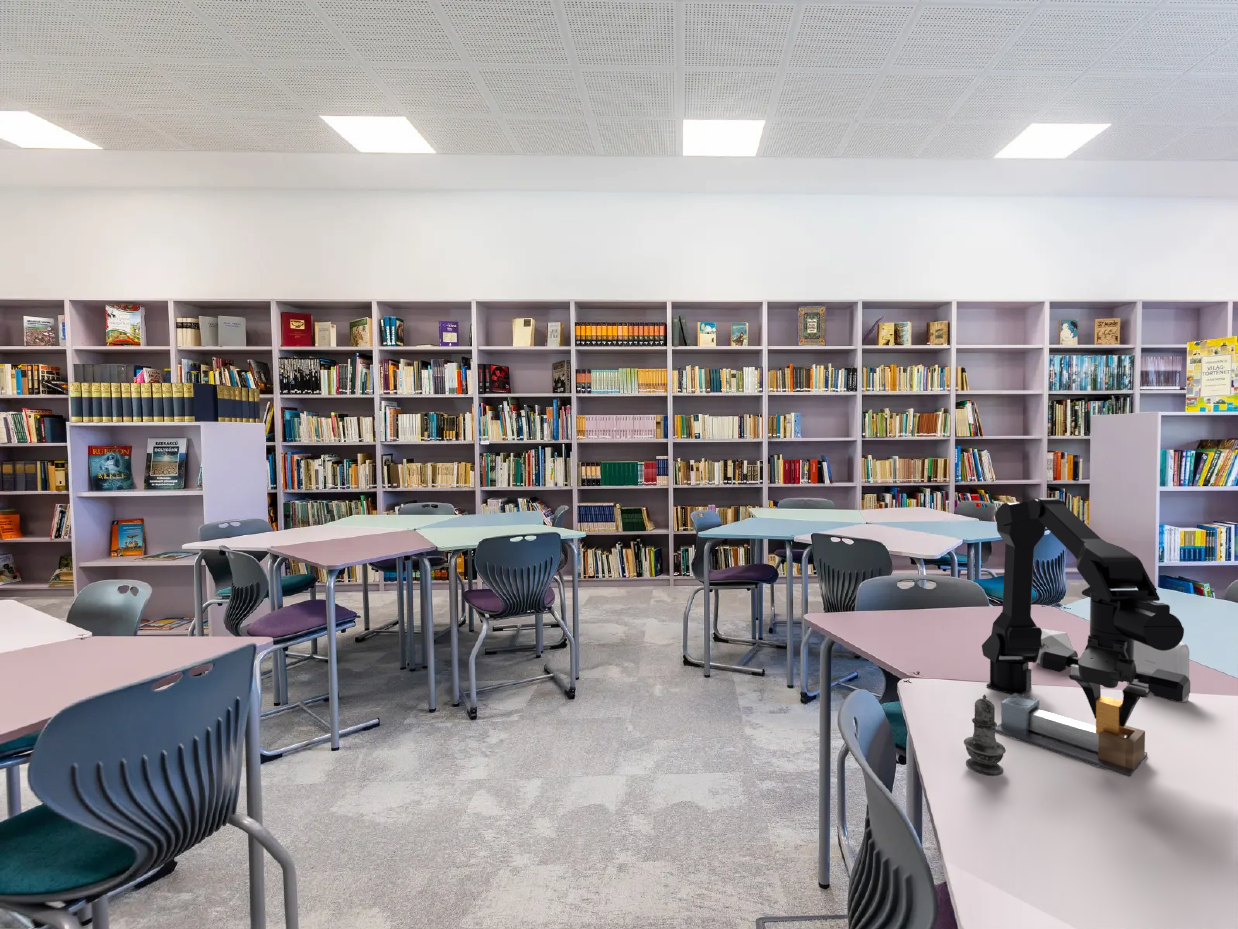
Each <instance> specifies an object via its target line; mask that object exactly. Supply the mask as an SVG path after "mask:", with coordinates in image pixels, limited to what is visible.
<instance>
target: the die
mask: <svg viewBox="0 0 1238 929" xmlns="http://www.w3.org/2000/svg"><path fill="white" fill-rule="evenodd" d="M1041 630H1042V636H1041V644H1042V647H1040V651H1039V654H1038V658H1037V661H1036V663H1037V664H1038V665H1040V657H1041V654H1042V653H1043V652H1045V651H1046V650H1048V649H1050V648H1051V647H1053V646H1056V647H1061V648H1065V649H1070V650H1075V649H1074V646H1073V644H1072V641H1071V639H1070V636H1069V635H1068V632H1064V631H1060V630H1059V631H1057V630H1052V629H1047V628H1041Z"/></svg>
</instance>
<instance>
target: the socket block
mask: <svg viewBox="0 0 1238 929" xmlns="http://www.w3.org/2000/svg"><path fill="white" fill-rule="evenodd" d="M1124 735H1128V739H1127V738H1123V737H1120V736H1117V735H1113V734H1110V733H1106V732H1103V731H1100V732H1099V741H1098V758H1099V759H1102V760H1105V761H1108V762H1111V763H1114V764H1117V765H1120V766H1124V767H1127V768H1130V769H1134V768H1135V767H1136V766H1137V764H1138V763H1139V762H1140V761H1141V760H1142V758H1143V757H1144V756H1145V752H1146V743H1145V742H1146V730H1144V729H1140V728H1136V727H1132V726H1129V725H1127V724H1126V725H1125V726H1124Z"/></svg>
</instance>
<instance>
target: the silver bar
mask: <svg viewBox="0 0 1238 929" xmlns="http://www.w3.org/2000/svg"><path fill="white" fill-rule="evenodd" d="M1122 703H1123V700H1119V699H1115V698H1113V697H1108V696H1104V695H1101V697H1100V698H1099V699H1098V700H1097V701H1096V719H1095V725H1094V724H1090V723H1088V722H1087V723H1086V722H1083V721H1080V720H1075V719H1073V718H1069V717H1067V716H1062V715H1059V714H1056V713H1052V712H1048V711H1045V710H1042V709H1040V708H1039V709H1036V708H1033V709H1031V710H1030V711H1029V712H1028V729H1029V730H1032V731H1035V732H1038V733H1041V734H1044V735H1047V736H1050V737H1054V738H1057V739H1060V740H1063V741H1066V742H1069V743H1072V744H1076V745H1079V746H1082V747H1085V748H1088V749H1091V750H1094V751H1097V752H1098V741H1099V732H1100V731H1103V732H1106V733H1110V734H1113V735H1117V736H1120V737H1123V738H1127V739H1128V735H1124V727H1121V725H1120V716H1121V709H1122Z"/></svg>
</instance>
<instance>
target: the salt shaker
mask: <svg viewBox="0 0 1238 929" xmlns="http://www.w3.org/2000/svg"><path fill="white" fill-rule="evenodd" d="M987 698H988V696H987V695H986V694H985V693H984V694H983V695H982V698H979V699H977V700H975V702H974V717H973V718H971V722H972V723H973V735H972V736H969V737H966V738H965V739H964V740H963V744H964V746H965V749H966V752H967V754H968V756H969V758H967V759H966V761H965V766H966V767H967V768H968V769H969V770H971V771H973V772H975V773H976V774H981V775H984V776H990V777H998V776H1001V775H1003V774H1004V768H1003V767H1002V766H1001V765H1000V764H999V763H1000V762H1001V761H1002V759H1003V758H1004V754H1006V750H1007V748H1005V746H1004V745H1003V744H1001V743H1000V742H999V741H997V739H996V732H995V728H996V727H997V726H998V723H997V722H996V720H995V719H996V718H995V717H996V710H995V709H996V707H995V704H994V703H993V702H992V701H990V700H989V699H987Z"/></svg>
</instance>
